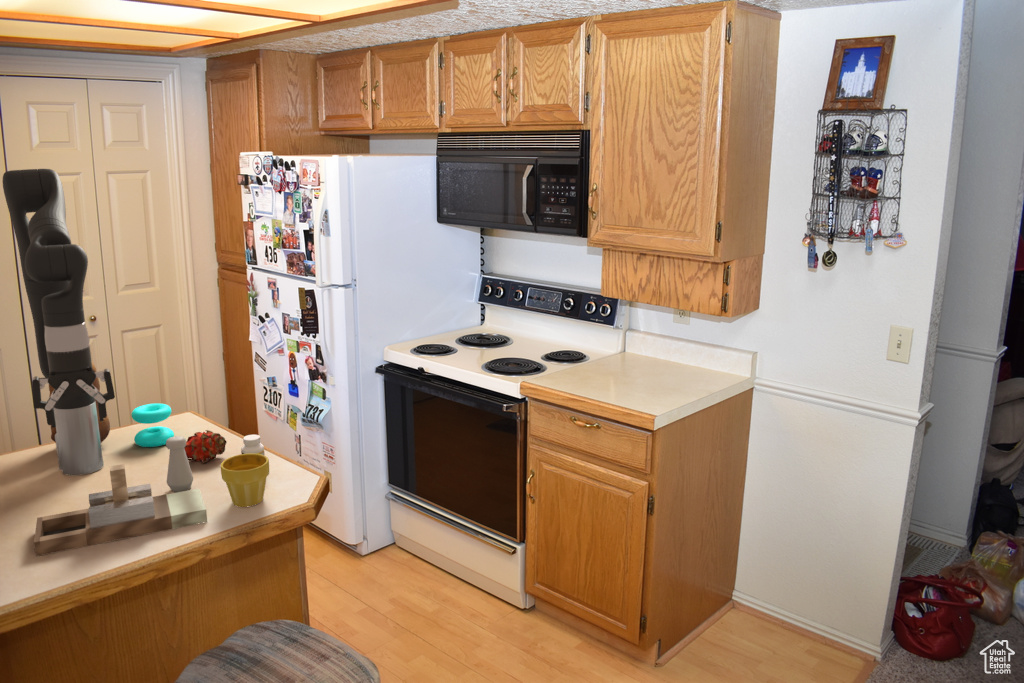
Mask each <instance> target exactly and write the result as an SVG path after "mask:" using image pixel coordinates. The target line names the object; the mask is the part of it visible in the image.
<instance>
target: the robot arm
mask: <svg viewBox="0 0 1024 683" xmlns="http://www.w3.org/2000/svg"><path fill="white" fill-rule="evenodd" d="M61 180H62V179H61V177H60V175H59V174H58V172H57V171H56V170H53V169H50V168H31V169H30V168H29V169H28V168H27V169H13V170H6V171H5V172H4V173H3V175H2V188H3V194H4V197H5V202H6V205H7V208H8V213H9V216H10V220H11V224H12V228H13V230H14V235H15V239H16V242H17V247H18V253H19V258H20V260H19V261H20V265H21V266H20V267H21V272H22V279H23V283H24V286H25V291H26V296H27V299H28V304H29V307H30V314H31V316H32V321H33V322H32V323H33V326H34V335H35V342H36V350H37V358H38V363H39V367H40V371H41V374H42V375H43V377H39V376H34V377H32V381H31V383H32V384H31V385H32V386H31V387H32V399H33V400H32V401H33V408H34V409H36V410H39V409H41V410H43V411H44V412H45V416H46V423H47V425H48V426H51V425H52V428H54V427H56V431H57V433H56V434H55V441H56V442H55V446H56V448H55V449H56V452H57V453H56V454H57V455H56V456H57V461H58V467H59V471H61V473H62V474H64V475H66V476H82V475H88V474H91V473H95V472H97V471H99V470H100V469H102V468H103V467H104V458H103V449H102V443H101V441H100V433H99V425H98V417H97V410H96V402H95V399H96V400H97V401H98V410H99V418H100V421H104V419H103V418H106V416H108V414H107V405H106V404H107V402H108V401H111V400H114V399H115V397H116V396H115V389H114V385H113V380H112V374H111V370H110V368H104V369H103V370H101V371H100V370H99V371H97V372H95V371H94V370H93V368H92V363H93V361H92V353H91V348H90V337H89V331H88V328H87V325H86V318H85V312H84V300H83V299H84V298H83V297H84V296H83V295H84V285H85V280H86V278H87V277H86V275H87V272H88V271H87V270H88V266H89V260H88V256H87V253H86V251H85V250H84V248H82V247H81V246H80V245H78V244H76V243H75V244H73V243H72V239H71V236H70V233H69V229H68V227H67V220H66V219H67V218H66V217H67V214H66V213H67V211H66V210H67V208H66V200H65V191H64V186H63V182H62V181H61ZM30 213H34V214H33V215H32V216H31V218H30V220H29V218H28V216H27V214H30ZM96 377H98V379H99V381H101V382H105V389H106V393H102V392H101V391H100V392H99V391H98V390H97V388H96V387H94V386H93V382H94V380H95V379H96ZM46 384H48V386H49V385H51V386H52V387H53V388H54V389H55V390H54V391H53V393H52V394H51V396H50V397H48V399H47V401H46V400H42V392H41V390H42V389H43V390H44V388H45V387H46Z"/></svg>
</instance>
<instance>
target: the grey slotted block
mask: <svg viewBox="0 0 1024 683" xmlns="http://www.w3.org/2000/svg"><path fill="white" fill-rule="evenodd" d="M151 486H152V485H151V483H146V484H139V485H135V486H134V485H133V486H130V487H128V486H127V491H128V497H133V496H137V499H132V500H127V501H121V502H116V503H110V504H106V502H105V501H110V500H113V493H112V489H111V490H106V491H101V492H100V491H99V492H95V493H89V494H88V504H89V507H88V508H89V518H90V525H91V529H97V528H102V527H107V526H112V525H118V524H123V523H128V522H133V521H138V520H144V519H149V518H154V517H155V510H154V502H153V497H154V496H153V495H152V487H151Z"/></svg>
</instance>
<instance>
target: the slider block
mask: <svg viewBox="0 0 1024 683" xmlns="http://www.w3.org/2000/svg"><path fill="white" fill-rule="evenodd" d="M108 467H109V476H110V484H111V490H112V493H113V500H110V501H105V502H106V504H110V503H116V502H121V501H127V500H132V499H137V496H133V497H128V491H127V488H128V485H127V477H126V468H125V463H122V464H116V465H110V466H108Z"/></svg>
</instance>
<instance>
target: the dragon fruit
mask: <svg viewBox="0 0 1024 683" xmlns="http://www.w3.org/2000/svg"><path fill="white" fill-rule="evenodd" d="M193 434H194V435H191V436H188V438H187V439H186V446H185V447H184V449H185V452H186V455H187V459H188V462H191V461H193V462H194V461H195V462H200V461H201V462H202V464H206V463H207V462H209V461H210V460H211V461H214V460H216V458H217V455H219V456H220V455H223V453H225V451H226V445H227V442H228V441H227V440H226V438H225V437H224V436H222V435H221V434H220V433H219V432H213V431H212V430H209V429H206V430H204V431H203V432H202V431H201V432H200V431H197V432H195V433H193Z"/></svg>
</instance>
